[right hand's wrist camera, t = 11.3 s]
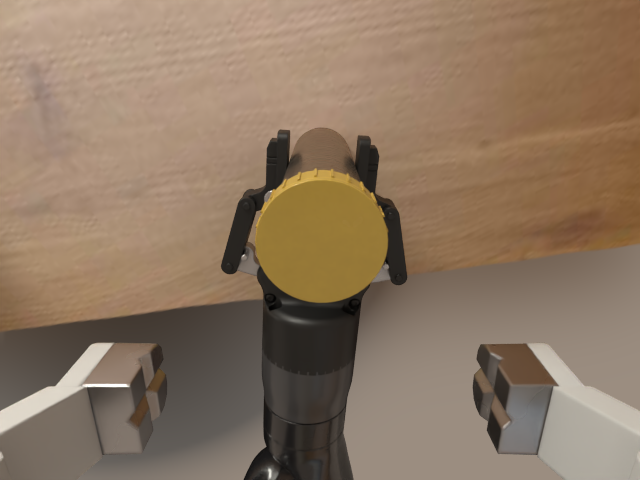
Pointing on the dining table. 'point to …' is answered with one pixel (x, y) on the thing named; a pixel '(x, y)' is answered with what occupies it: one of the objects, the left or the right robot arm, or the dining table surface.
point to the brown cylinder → (321, 154)
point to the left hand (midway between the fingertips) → (323, 135)
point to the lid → (321, 236)
